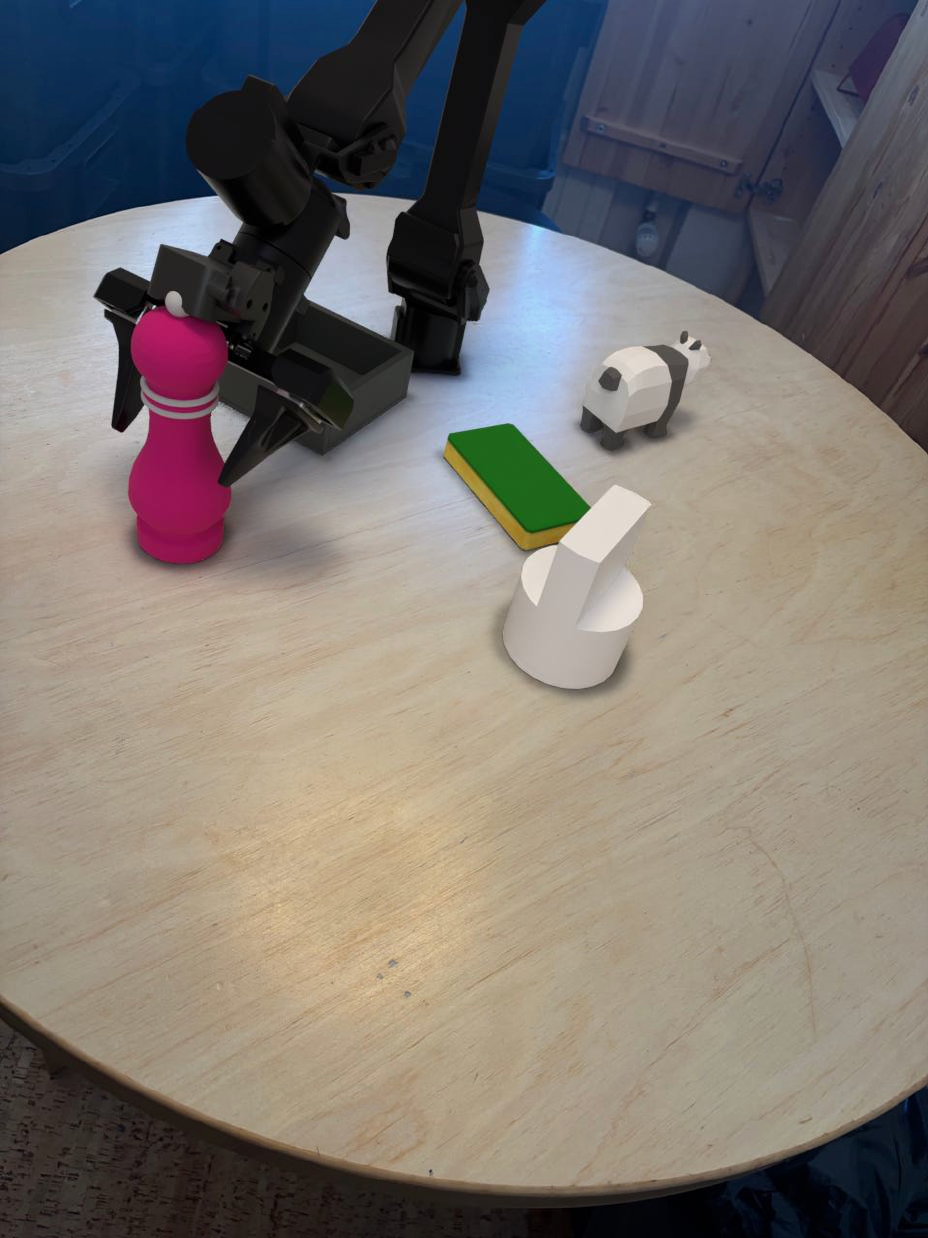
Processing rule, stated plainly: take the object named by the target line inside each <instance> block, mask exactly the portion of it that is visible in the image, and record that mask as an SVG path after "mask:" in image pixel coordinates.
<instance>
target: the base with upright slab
mask: <svg viewBox="0 0 928 1238" xmlns="http://www.w3.org/2000/svg"><path fill="white" fill-rule="evenodd" d="M651 506H652V503H651V502H650V501H649V500H648V499H646V498H644V497H643V496H641V495H639V494H638V493H636V492H635V491H632V490H630V489H627V488H625V487H622V486H620V485H617V484H613V485H612V486H611V487H610V488H609V489H608V490H607V491H606V492H605V493H604V494H603V495H602V496H601V497H600V498H599V499H598V501H597V502H596V503H594V504H593V506H591V509H590V510H589V511H588V512H587V513H586V514H585V515H584V516H583V517H582V518H581V519H580V520H579V521H578V522H577V523H576V524H575V525H574V527H573V528H572V529H571V530H570V531H569V532H568V533H567V534H566V535H565V536H564V537H563V538H562V539H561V540H560V541H559V542H558V544H555V545H547V546H546V547H542V548H541V549H537V550H536V551H534V552H533V553H532V554H531V555H529V556H528V557H527V559H526V560H525V562H524V563H523V565H522V567H521V570H520V573H519V577H518V579H517V583H516V586H515V589H514V593H513V596H512V599H511V601H510V605H509V608H508V612H507V615H506V617H505V621H504V625H503V629H502V639H503V645H504V648H505V649H506V652H507V653H508V655H509V657H510V659H511V660H512V661H513V662H514V663H515V664H516V665H517V666H518V668H519V669H521V671H523V672H525V673H526V674H528V676H530V677H531V678H533V679H535V680H537V681H540V682H542V683H544V684H546V685H549V686H552V687H553V686H554V687H557V688H561V689H572V690H581V689H586V688H593V687H595V686H597V685H600V684H601V683H603V682H605V681H606V680H607V679H608V678H609V677H610V676H611V675H613V673H614V671H615V669H616V667H617V665H618V663H619V661H620V658H621V656H622V654H623V652H624V650H625V647H626V645H627V643H628V641H629V639H630V636H631V634H632V632H633V631H634V630H633V629H634V627H635V626H636V624H637V621H638V618H639V617H640V615H641V613H642V610H643V608H644V606H643V605H644V595H643V591H642V589H641V586H640V584H639V582H638V581H637V580H636V578H635V576H634V575H633V573H631V572H630V571H629V569H628V568H626V566H627V563H628V562H629V559H630V557H631V554H632V552H633V549H634V548H635V545H636V542H637V540H638V537H639V535H640V534H641V530H642V528H643V526H644V523H645V520H646V518H647V516H648V514H649V511H650V509H651Z"/></svg>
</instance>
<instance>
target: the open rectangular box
mask: <svg viewBox="0 0 928 1238" xmlns="http://www.w3.org/2000/svg"><path fill="white" fill-rule="evenodd" d="M308 300H309V302H310V304H309V306H308V308H307V310H306V312H305V313H304V315H303V314H301V313H299V312H297V311H295V312H294V314H293V316H292V318H291V319H290V321H289V323H288V325H287V327H286V329H285V331H284V333H283V335H282V336H281V338H280V340H279V342H278V344H277V347H278V348H279V349H280V350H281V351H282V352H284V351H285V350H287V349H289V348H291V349H293V350H295V351H297V352H299V353H301V354H303V355H305V356H307V357H310V358H312V359H314V360H316V361H318V362H320V363H322V364H324V365H326V366H328V367H330V368H332V369H333V370H334V371H335V372H336V373H337V375H338V376H339V377H340V378H341V379H342V380H343V381H344V382H345V383H346V384H347V386H348V387H349V388H350V389H351V390H352V392H353V397H354V405H353V411H352V413H351V415H350V416H349V418H348V420H347V422H346V424H345V426H344V428H343V430H338V429H336V428H334V427H332V426H330V425H328V424H326V423H324V422H322V421H321V423H320V425H321V426H323V427H324V428H323V430H322V432H321V433H317V432H314V431H312V430H310V431H308V432H306V433H304V434H303V435H301V436H300V437H298V438H296V439H295V440H293V441H292V442H295V443H297V444H299V445H301V446H303V447H304V448H307V450H310V451H312V452H314V453H316V454H318V455H319V456H321V457H322V456H324V455H325V454H327V453H328V452H330V451H331V450H333V449H334V448H336V447H337V446H339V445H340V444H342V442H344V441H345V440H347V439H348V438H350V437H351V436H353V435H354V434H356V433H357V432H359V431H360V430H361V429H363V428H364V427H366V426H367V425H368V424H370V423H371V422H373V421H374V420H376V419H377V418H379V417H380V416H382V414H384V413H386V412H387V411H388V410H390V409H391V408H393V407H395V406H396V405H398V403H400V402H401V401H403V400H404V399H406V398H407V397H408V396H407V395H408V390H409V383H410V378H411V373H412V371H411V367H412V361H413V356H414V351H413V350H411V349H409V348H407V347H405V346H403V345H401V344H399V343H397V342H395V341H393V340H390V338H388V337H386V336H384V335H383V334H380V333H378V332H377V331H374V330H372V329H370V328H368V327H366V326H364V325H362V324H360V323H358V322H356V321H353V320H352V319H349V318H347V317H346V316H343V315H341V314H339V313H337V312H335V311H333V310H331V309H328V308H327V307H325V306H323V305H321V304H318V303H317V302H315V301H312V300H310V299H308ZM236 351H237V352H238V353H239V354H240V353H241V354H242V355H244V356H247V357H249V355H250V352H248V351H246V350H244V349H242V348H240V347H237V349H236ZM217 381H218V383H219V392H218V396H219V402H221V403H223V404H224V405H226V406H228V407H230V408H231V409H234V410H235V411H237V412H239V413H241V414H243V415H245V416H247V417H249V419H250V418H251V416H252V414H253V412H254V407H255V401H256V394H257V387H258V384H260V385H262V386H264V387H266V388H268V389H270V390H272V391H275V389H276V387H277V386H275V385H273V384H271V383H269V382H267V381H265V380H263V379H261V378H258V377H256V376H254V375H252V374H250V373H248V372H246V371H244V370H242V369H240V368H238V367H236V366H234V365H232V364H230V363H228V362H227V365H226V368H225V370H224V372H223V374H222V375H221V377H220V378H219V379H218V380H217Z"/></svg>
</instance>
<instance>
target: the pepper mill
mask: <svg viewBox="0 0 928 1238" xmlns="http://www.w3.org/2000/svg"><path fill="white" fill-rule="evenodd" d="M181 306H182V299H181V296H180V294H179V293H177V292H175V291H172V292H169V293H168V294H167V296H166V299H165V305H164V306H160V307H157V308H154V309H153V310H151V311H149V312H148V313H146V314H145V315H144V316H143V317H142V318H141V319H140V320H139V322H138V323H137V325H136V327H135V328H134V331H133V335H132V339H131V354H132V359H133V362H134V364H135V366H136V367H137V369H138V371H139V372H140V373H141V374H142V377H141V380H140V384H141V388H142V390H141V399H142V401H143V403H144V404H145V405H144V406H145V407H146V408H147V409H148V431H147V435H146V440H145V442H144V443H143V447H141V449H140V452H138V454H137V456H136V458H135V460H134V462H133V464H132V467H131V470H130V473H129V477H128V484H127V496H128V501H129V503H130V506H131V508H132V509H133V511H134V513H135V514H136V519H135V521H136V537H137V541H138V544H139V545H140V547H141V548H142V549H143V550H144V551H145V552H146V553H147V554H148V555H150V556H151V557H153V558H155V559H158V560H160V561H162V562H167V563H172V564H191V563H192V564H193V563H197V562H201V561H203V560H205V559H208V558H210V557H211V556H213V555H214V554H215V553H216V552H217V551H218V550H219V549H220V548H221V546H222V544H223V542H224V529H225V527H224V523H225V521H224V520H225V519H224V516H225V515H226V514H227V512H228V510H229V508H230V506H231V502H232V498H233V497H232V496H233V495H232V485H231V486H230V487H228V488H225V487H223V486H221V485H219V484H218V478H219V476H220V473H221V471H222V469H223V466H224V464H225V460H224V459H223V457H222V455H221V451H220V450H219V448H218V446H217V444H216V442H215V439H214V435H213V431H212V412H214V410H216V408H217V407H218V406H219V402H220V401H219V396H218V392H219V383H218V381H217V380H218V379H219V378H220V377H221V375H222V374H223V372H224V370H225V368H226V365H227V361H228V346H227V342H226V338H225V335H224V333H223V331H222V329H221V327H220V326H219V325H218V324H217V322H215V323H213V322H207V321H204V320H201V319H198V318H195V317H193V316H191V315H189V314H186V313H185V312H184V310H183V308H182V307H181Z"/></svg>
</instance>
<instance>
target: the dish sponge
mask: <svg viewBox="0 0 928 1238" xmlns="http://www.w3.org/2000/svg"><path fill="white" fill-rule="evenodd" d="M445 443H446V444H445V448H444V452H443V457H444V458H445V460H446V461H447V462H448V463H449V464H450V466H451V467H452V468H453V469H454V470H455V471H456V473H457V474H458V475H459V476H460V478H461V479H462V480H463V481H464V482H465V483H466V484H467V486H468V487H469V488H470V489H471V491H472V492H473V493H474V494H475V496H477V498H478V499H479V500H480V501H481V502H482V504H483V505H484V506H485V507H486V509H487V510H488V511H489V512H490V513H491V514H492V515H493V517H494V519H496V520H497V522H498V523H499V524H500V525H501V526H502V528H503V529H504V530H505V531H506V532H507V534H508V535H509V536H510V537H511V538H512V540H513V541H514V542H515V543H516V545H517V546H519V548H520V549H522V550H525V551H529V550H533V549H536V548H540V547H544V546H550V545H552V544H557V543H559V541H560V540H561V539H562V538H563V537H564V536H565V535H566V534H567V533H568V532H569V531H570V530H571V529H572V528H573V527H574V525H575V524H576V523H577V522H578V521H579V520H580V519H581V518H582V517H583V516H584V515H585V514H586V513H587V512H588V511H589V510H590V509H591V508H592V506H591V505H589V504H588V502H587V501H586V500H585V499H584V498H583V497H582V496H581V495H580V494H579V493H578V492H577V491H576V489H574V487H573V486H571V484H570V483H569V482H568V481H567V480H566V479H565V478H564V477H563V476H562V475H561V474H560V472H558V470H556V468H555V467H554V466H553V465H552V464H551V463H550V462H549V461H548V460H547V459H546V458H545V456H544V455H542V453H541V452H540V451H539V450H538V449H537V448H536V447H535V446H534V445H533V444H532V443H531V442H530V441H529V439H528V438H527V437H526V436H525V435H524V434H523V433H522V432H521V431H520V429H518V428H517V427H516V425H515V424H513V423H510V422H507V423H502V424H501V423H500V424H496V425H490V426H489V425H488V426H485V427H484V426H483V427H479V428H478V427H477V428H473V429H467V430H462V431H456V432H449V433H448V434H447V437H446V442H445Z"/></svg>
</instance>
